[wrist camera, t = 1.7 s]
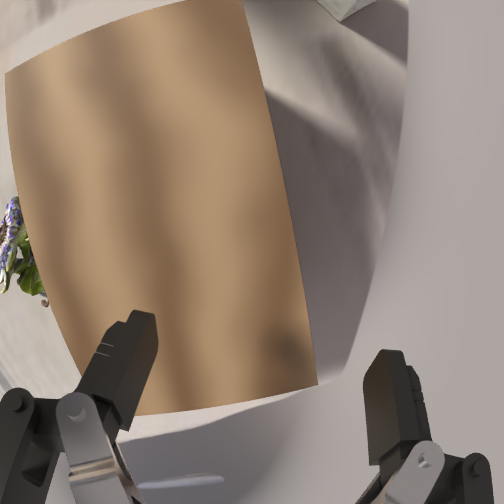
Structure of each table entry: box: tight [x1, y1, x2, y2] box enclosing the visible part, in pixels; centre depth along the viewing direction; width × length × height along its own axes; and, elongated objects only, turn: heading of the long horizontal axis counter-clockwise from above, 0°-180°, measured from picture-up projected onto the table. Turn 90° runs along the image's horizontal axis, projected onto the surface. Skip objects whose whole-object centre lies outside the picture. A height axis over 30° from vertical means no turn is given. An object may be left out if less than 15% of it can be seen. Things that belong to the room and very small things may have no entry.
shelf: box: [5, 0, 318, 416], centre depth 25 cm, size 16×25×17 cm, turn 12°
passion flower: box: [0, 196, 49, 307], centre depth 30 cm, size 11×11×12 cm
